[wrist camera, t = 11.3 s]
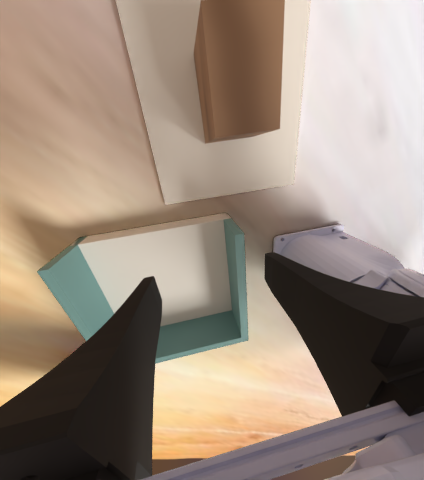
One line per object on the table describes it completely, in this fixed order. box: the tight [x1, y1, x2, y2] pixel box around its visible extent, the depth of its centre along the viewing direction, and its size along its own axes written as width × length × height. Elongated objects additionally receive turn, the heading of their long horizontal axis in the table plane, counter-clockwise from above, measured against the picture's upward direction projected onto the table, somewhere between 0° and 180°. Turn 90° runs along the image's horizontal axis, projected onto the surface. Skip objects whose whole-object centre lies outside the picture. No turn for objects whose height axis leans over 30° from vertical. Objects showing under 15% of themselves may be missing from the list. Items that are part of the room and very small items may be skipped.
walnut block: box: [194, 0, 285, 144], centre depth 12 cm, size 4×6×5 cm
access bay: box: [37, 213, 248, 363], centre depth 19 cm, size 16×14×6 cm
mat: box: [116, 0, 311, 205], centre depth 15 cm, size 14×16×1 cm
